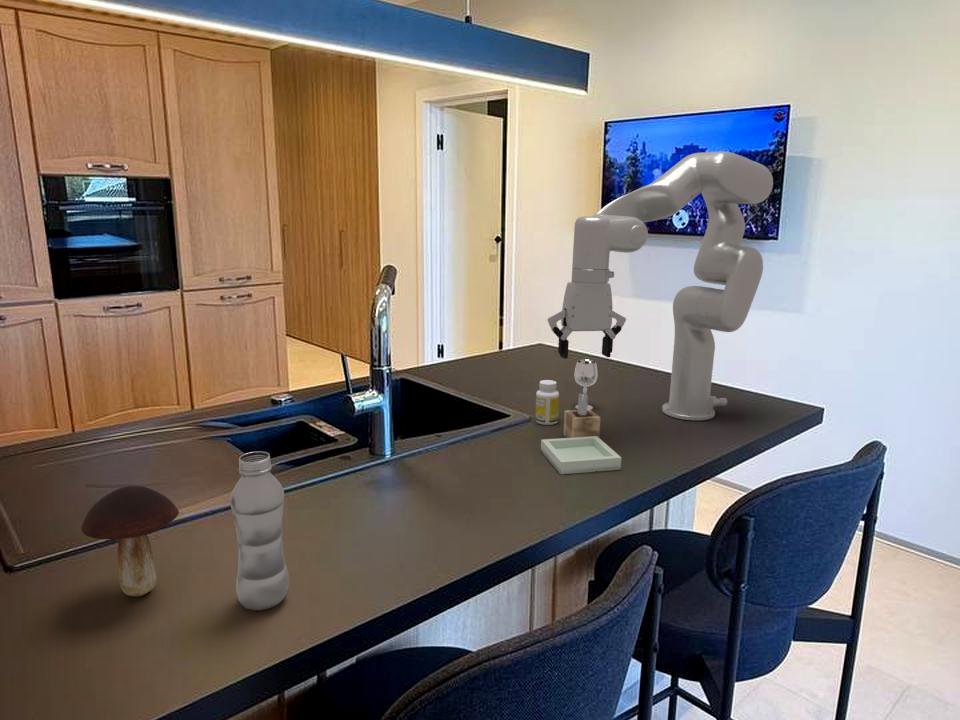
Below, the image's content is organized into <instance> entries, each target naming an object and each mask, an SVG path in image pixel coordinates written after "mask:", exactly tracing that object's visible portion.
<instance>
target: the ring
mask: <svg viewBox="0 0 960 720" xmlns="http://www.w3.org/2000/svg"><path fill="white" fill-rule="evenodd" d="M563 417H564V420H563V435H564V436H565V438H575V437H590V436H597V437H599V438H600V433H601V430H600V429H601V416H599V414H597V413H595V412H594V411H593V409H591V410H590V409H587V417H578V409H573V410H572V409H567V410H564V415H563Z"/></svg>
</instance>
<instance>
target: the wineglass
mask: <svg viewBox="0 0 960 720" xmlns="http://www.w3.org/2000/svg"><path fill="white" fill-rule="evenodd" d="M573 376H574V381H575V382H576V384H578V385H579V386H581V387H583V389H582V393H584V394H587V391H588V388H587V387H591V386H593V385H595V383H597V380H598V366H597V361H595V360H592V359H578V360H577V361H576V364H575V368H574V375H573ZM574 408H575V409H576V410H578V404H576V405H575V407H574ZM593 408H594V407H593V406H592V405H589V404H587V409H590V410H593Z"/></svg>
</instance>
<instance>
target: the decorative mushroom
mask: <svg viewBox="0 0 960 720" xmlns="http://www.w3.org/2000/svg"><path fill="white" fill-rule="evenodd" d="M179 514H180V511H179V509H178V507H177V506H176V505H175V504H174V502H173V501H172V500H171V499H170V498H168V497H167V496H165V495H164V494H162V493H160V492H158V491H157V490H154V489H152V488H150V487H145V486H140V485H127V486H123V487H119V488H117V489H115V490H113V491H111V492H109V493H107V494H105V495H104V496H103V497H101V498H100V499H99V500H98V501H97V502H95V503H94V504H93V505H92V506H91V508H90V509H89V511H88V512H87V513H86V515H85V516H84V520H83V522H82V523H81V527H80V530H81V532H82V534H83V535H85V536H87V537H89V538H92V539H96V540H118V543H117V544H118V545H117V546H118V548H117V565H118V567H117V568H118V579H119V586H120V589H121V591H122V592H123V593H124V594H125V595H127V596H130V597H136V598H137V597H142V596H144V595H146V594H148V593H149V592H150V591H152V590H153V588H154V587H155V584H156V580H157V572H156V565H155V564H156V563H155V559H154V555H153V551H152V549H153V548H152V546H151V543H150V540H149V536H148V535H150V534H153V533H155V532H157V531H159V530H160V529H162V528H163V527H165V526H167V525H169V524H170V523H172V522H173V521H174V520H175V519H176V518H177V517H178V516H179Z"/></svg>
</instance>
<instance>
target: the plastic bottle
mask: <svg viewBox="0 0 960 720" xmlns="http://www.w3.org/2000/svg"><path fill="white" fill-rule="evenodd" d="M238 465H239V467H238V474H239V475H240V476H241V477H240V478H239V479H238V481H237V482H236V484H235V485H234V488H233V489H232V491H231V495H230V497H229V503H230V504H229V505H230V509H231V513H232V518H233V522H234V525H235V532H236V539H237V546H238V554H237V555H238V556H237V557H238V560H237V574H236V580H235V581H236V582H235V592H236V595H237V599H238V601H239V603H240V604H241V605H242V607H244V608H245V609H247V610H251V611H262V610H263V611H264V610H268V609H271V608H273V607H276V606H278V605H279V604H280V603H282V602H283V600H284V599H285V597H286V595H287V594H288V591H289V585H290V576H289V572H288V568H287V564H286V561H285V553H284V545H283V513H284V505H285V490H284V487H283V486H282V484H281V483H280V481H279V479H277V477H275V476H274V475H273V474H272V473H271V471H272V467H273V465H272V463H271V456H270V453H269V452H267V451H261V450H260V451H259V450H258V451H250V452H246V453H244V454H242V455H240V456H239V458H238Z"/></svg>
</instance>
